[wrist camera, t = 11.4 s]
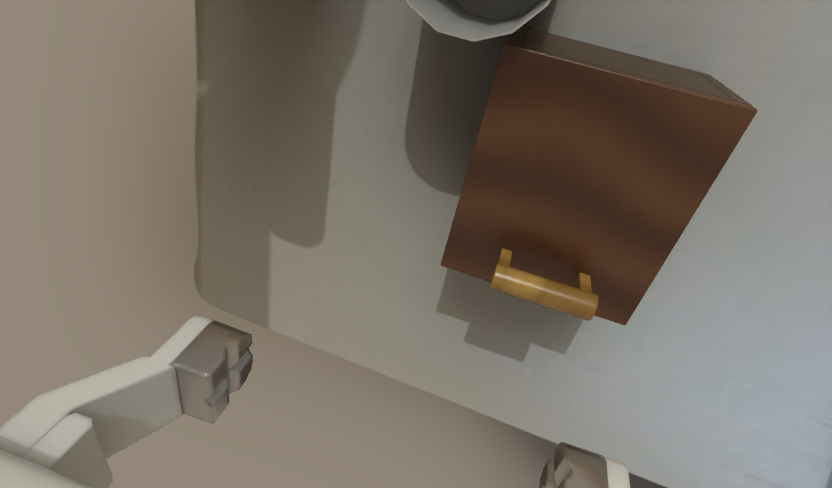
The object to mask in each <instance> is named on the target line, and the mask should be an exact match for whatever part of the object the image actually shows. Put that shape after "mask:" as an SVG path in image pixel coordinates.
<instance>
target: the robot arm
mask: <svg viewBox="0 0 832 488" xmlns="http://www.w3.org/2000/svg"><path fill="white" fill-rule="evenodd" d="M251 344H252V335H251V334H249V333H246V332H243V331H241V330H238V329H235V328H233V327H231V326H228V325H225V324H223V323H220V322H217V321H215V320H212V319H209V318H206V317H204V316H200V315H196V316H193V317H192V318H190V319H189V320H188V321H187V322H186V323H185V324H184V325H183V326H182V327H181V328H180V329H179V330H178V331H177V332H176V333H175V334H174V335H173V336H172V337H171V338H170V339H169V340H168V341H167V342H166V343H164V344H163V345H162V346H161V347H160V348H159V349H158V350H157V351H156V352H155V353H154V354H153V355H152V356H151V357H147V356H143V357H141V358H138V359H135V360H132V361H130V362H127V363H124V364H122V365H119V366H116V367H113V368H111V369H108V370H106V371H103V372H100V373H97V374H94V375H92V376H89V377H86V378H84V379H81V380H78V381H76V382H73V383H70V384H67V385H65V386H62V387H59V388H57V389H54V390H51V391H49V392H46V393H43V394H40V395H38V396H37V397H35V398H34V399H33V400H32V401H31V402H30V403H28V404H27V405H26V406H25V407H24V408H22V409H21V410H20V411H19V412H18V413H17V414H15V415H14V416H13V417H12V418H11V419H9V420H8V421H7V422H6V423H5V424H3V425H2V426H1V427H0V488H108V487H109V486H110V484H111V483H112V473H111V470H110V468H109V465H108V462H107V458H109V457H110V456H112V455H114V454H116V453H117V452H119V451H121V450H123V449H125V448H126V447H128V446H130V445H132V444H133V443H135V442H137V441H139V440H140V439H142V438H144V437H146V436H147V435H149V434H151V433H153V432H155V431H156V430H158V429H160V428H162V427H163V426H165V425H167V424H169V423H170V422H172V421H174V420H175V419H177V418H179V417H181V416H182V415H183V414H186V415H189V416H192V417H195V418H197V419H200V420H203V421H206V422H209V423H212V424H214V423H215V421H216V420H217V419H218V417H219V416H220V415H221V413H222V412H223V411H224V409H225V408H226V407H227V405H228V404H229V394H230V393H232V392H234V391H236V390H239V389H240V388H241V386H242V385H243V383H244V382H245V381H246V379H247V377H248V374H249V372H250V370H251V366H252V362H253V360H252V359H253V357H252V356H253V355H252V354H251V352H250V351H249V349H248V348H249V347H250V345H251ZM182 413H183V414H182ZM539 488H630V481H629V474H628V468H627V466H626V465H625V464H624V463H621V462H618V461H615V460H612V459H609V458H607V457H603V456H602V455H600V454H597V453H594V452H591V451H588V450H585V449H582V448H579V447H576V446H573V445H570V444H567V443H564V442H561V443H559V444H558V445H557V447H556V448H555V457H554V458H553V459H550V460H548V461H547V463H546V465H545V467H544V469H543V472H542V475H541V478H540V485H539Z"/></svg>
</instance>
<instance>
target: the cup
mask: <svg viewBox="0 0 832 488" xmlns="http://www.w3.org/2000/svg"><path fill="white" fill-rule="evenodd" d="M550 1H551V0H406V2H407V4H408V5H409V6H410V7H411V8H412V9H413V10H414V11H415V12H416V13H417V14H418V15H419V16H421V17H422V18H423V19H424V20H425V21H426V22H427V23H428V24H429V25H430V26H431V27H432V28H434V29H435V30H436V31H437V32H440V33H444V34H447V35H451V36H454V37H458V38H462V39H465V40H469V41H472V42H475V41H480V40H484V39H489V38H493V37H498V36H502V35H507V34H512V33H514V32H515V31H516V30H517V29H519V28H520V27H521V26H523V25H524V24H525V23H526V22H528V21H529V20H530V19H531V18H533V17H534V16H535V15H537V14H538V13H539V12H540V11H542V10H543V9H544V8H546V7H547V6H548V4H549V3H550Z"/></svg>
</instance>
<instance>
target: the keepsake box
mask: <svg viewBox="0 0 832 488" xmlns="http://www.w3.org/2000/svg"><path fill="white" fill-rule="evenodd" d="M506 41H507V42H511V43H515V44H518V45H522V46H526V47H530V48H534V49H537V50H541V51H545V52H549V53H553V54H556V55H560V56H564V57H568V58H572V59H576V60H579V61H583V62H587V63H591V64H595V65H598V66H602V67H606V68H610V69H614V70H617V71H621V72H625V73H629V74H633V75H636V76H640V77H644V78H648V79H652V80H655V81H659V82H663V83H667V84H671V85H674V86H678V87H682V88H686V89H690V90H693V91H697V92H701V93H705V94H709V95H712V96H716V97H720V98H724V99H728V100H731V101H735V102H739V103H743V104H747V105H750V106H752V105H751V104H749V103H748V102H746V101H745V100H744V99H742V98H741V97H740V96H738V95H737V94H735V93H734V92H733V91H731V90H730V89H729V88H727V87H726V86H724V85H723V84H722V83H720V82H719V81H718V80H716V79H715V78H713V77H712V76H710V75H708V74H704V73H700V72H697V71H693V70H689V69H685V68H681V67H677V66H673V65H669V64H666V63H662V62H658V61H654V60H650V59H646V58H642V57H638V56H635V55H631V54H627V53H623V52H619V51H615V50H611V49H607V48H604V47H600V46H596V45H592V44H588V43H584V42H580V41H576V40H573V39H569V38H565V37H561V36H557V35H553V34H549V33H545V32H542V31H538V30H534V29H530V28H526V27H522V26H521V27H520V28H519V29H517V30H516V31H515V32H514V33H512V34H510V36H509V37H508V38H507V40H506ZM506 41H505V42H506Z"/></svg>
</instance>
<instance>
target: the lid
mask: <svg viewBox="0 0 832 488" xmlns="http://www.w3.org/2000/svg"><path fill="white" fill-rule="evenodd" d="M756 113H757V109H755V108H754V107H753V106H750V105H747V104H743V103H739V102H735V101H731V100H728V99H724V98H720V97H716V96H712V95H709V94H705V93H701V92H697V91H693V90H690V89H686V88H682V87H678V86H674V85H671V84H667V83H663V82H659V81H655V80H652V79H648V78H644V77H640V76H636V75H633V74H629V73H625V72H621V71H617V70H614V69H610V68H606V67H602V66H598V65H595V64H591V63H587V62H583V61H579V60H576V59H572V58H568V57H564V56H560V55H556V54H553V53H549V52H545V51H541V50H537V49H534V48H530V47H526V46H522V45H518V44H515V43H511V42H507V41H506V42H505V43H504V44H503V47H502V51H501V54H500V58H499V61H498V65H497V68H496V72H495V75H494V79H493V82H492V86H491V89H490V93H489V97H488V100H487V104H486V107H485V111H484V114H483V118H482V121H481V125H480V128H479V132H478V135H477V139H476V142H475V146H474V149H473V153H472V156H471V160H470V163H469V167H468V170H467V174H466V177H465V181H464V184H463V188H462V191H461V195H460V198H459V202H458V205H457V209H456V212H455V216H454V220H453V223H452V227H451V230H450V234H449V237H448V241H447V244H446V248H445V251H444V255H443V258H442V262H441V266H444V267H447V268H450V269H453V270H456V271H459V272H462V273H465V274H468V275H471V276H474V277H478V278H481V279H484V280H487V281H490V284H489V288H490V289H492V290H495V291H498V292H501V293H504V294H508V295H511V296H514V297H517V298H520V299H523V300H526V301H529V302H532V303H535V304H538V305H541V306H544V307H547V308H551V309H554V310H557V311H560V312H563V313H566V314H569V315H572V316H575V317H578V318H581V319H584V320H587V321H589V320H591V319H592V318H593V316H594V315H595V316H598V317H601V318H604V319H607V320H610V321H613V322H616V323H620V324H623V325H626V324H627V322H628V320H629V319H630V317H631V315H632V314H633V312H634V311H635V309H636V307H637V306H638V304H639V302H640V301H641V299H642V298H643V296H644V294H645V293H646V291H647V289H648V288H649V286H650V285H651V283H652V281H653V280H654V278H655V276H656V275H657V273H658V272H659V270H660V268H661V267H662V265H663V263H664V262H665V260H666V259H667V257H668V255H669V254H670V252H671V251H672V249H673V247H674V246H675V244H676V242H677V241H678V239H679V238H680V236H681V234H682V233H683V231H684V229H685V228H686V226H687V225H688V223H689V221H690V220H691V218H692V216H693V215H694V213H695V212H696V210H697V208H698V207H699V205H700V203H701V202H702V200H703V199H704V197H705V195H706V194H707V192H708V190H709V189H710V187H711V186H712V184H713V182H714V181H715V179H716V178H717V176H718V174H719V173H720V171H721V169H722V168H723V166H724V165H725V163H726V161H727V160H728V158H729V156H730V155H731V153H732V152H733V150H734V148H735V147H736V145H737V143H738V142H739V140H740V139H741V137H742V135H743V134H744V132H745V130H746V129H747V127H748V126H749V124H750V122H751V121H752V119H753V117H754V116H755V114H756Z"/></svg>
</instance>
